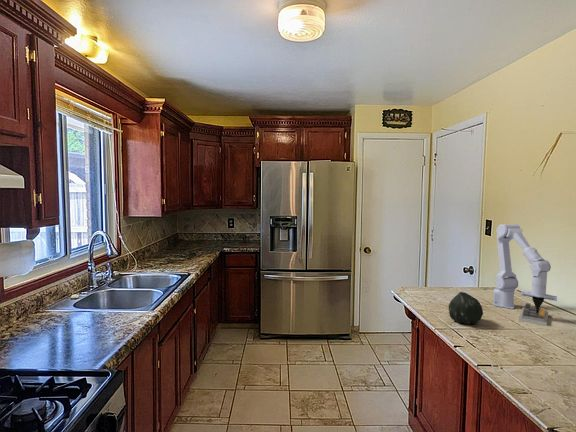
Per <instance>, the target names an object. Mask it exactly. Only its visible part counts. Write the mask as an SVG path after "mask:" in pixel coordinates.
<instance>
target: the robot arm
mask: <svg viewBox="0 0 576 432" xmlns="http://www.w3.org/2000/svg"><path fill="white" fill-rule="evenodd" d="M495 230H496V245H497V255H498V265H499V272H498V273H497V274H496V275H495V281H494V282H495V286H496V288H494V290H493V300H492V301H493V302H492V303H493V304H492V305H493V307H500V308H503V309H504V308H507V309H509V310H510V309H511V310H514V308H515V306H516V304H514V303H515V302H514V301H515V300H514V299H515V291H516V289H517V288H518V287H519V280H518V278H517V275H516V274H515V273H514V272H513V271H512V269H513V268H512V262H511V252H510V251H511V250H510V242H511V240H515V242H516V244H518V245H519V246H520V248H522V250H523V252H522V253H523V256H524V257H525V258H526V259H527V261H528V263H529V264H530V265H529V268H530V270H531V275H532V282H531V283H532V284H531V291H524V290H521V291H520V296H521V297H529V298H532V299H531V300H532V302H533V304H534V307H535V310H536V313H538V311H539V310H540V308H541V306H542V304H543V303H544V302H545V300H547V301H548V300H549V301H554V302H557V301H558V296H557V295H550V294H547V283H548V280H547V279H548V273H549V272H550V271H551V268H552V267H551V265H552V264H551V263H550V261H549V260H546V259H544V258H543V257H542V255H541V254H540V253H539V252H538V249H537V248H535V247H532V246H531V245H530V243H529V242H528V240H527V239H526V237H525V236H524V234H523V229H522V228H521V226H520V225H519V224H517V223H514V224H513V223H511V224H509V223H508V224H504V223H502V224H501V223H500V224H499V225H498V227H497V228H496V229H495Z"/></svg>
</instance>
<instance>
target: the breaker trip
mask: <svg viewBox="0 0 576 432" xmlns="http://www.w3.org/2000/svg"><path fill="white" fill-rule="evenodd" d="M539 310H540V312H539V315H542V316H545V311H546V308H544V307H540V308H539Z"/></svg>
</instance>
